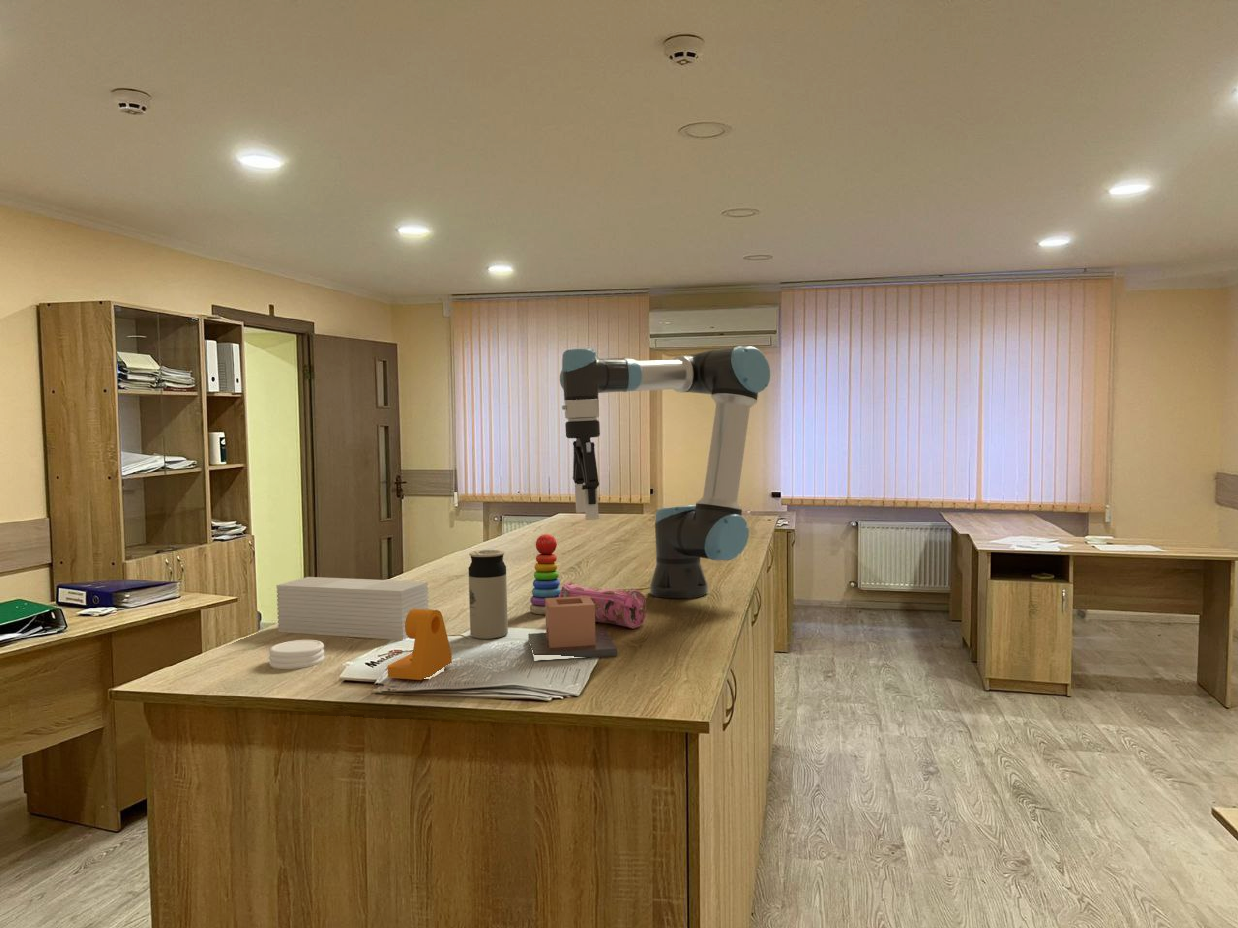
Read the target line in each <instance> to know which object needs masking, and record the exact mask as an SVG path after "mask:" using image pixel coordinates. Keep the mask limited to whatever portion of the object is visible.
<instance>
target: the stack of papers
mask: <svg viewBox="0 0 1238 928" xmlns="http://www.w3.org/2000/svg"><path fill="white" fill-rule="evenodd" d="M428 585H429V582H428V581H418V580H417V581H414V580H395V579H394V580H392V579H368V578H367V579H366V578H342V577H320V576H316V577H315V576H306V577H302V578H298V579H295V580H291V581H288V582H283V583H280V584H277V585H276V598H277V599H276V606H277V609H276V611H277V628H278V629H277V632H279V633H289V634H304V635H306V634H307V635H308V634H309V635H320V636H336V637H352V638H365V639H378V640H380V639H382V640H398V641H402V640H401V639H404V640H407V639H410V638H409V637H408V636H407V634H406V631H405V621H406V617H407V615H408V613H409V611H410V610H412V609H429V607H430V606H429V587H428ZM406 638H407V639H406Z"/></svg>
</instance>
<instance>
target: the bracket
mask: <svg viewBox="0 0 1238 928" xmlns="http://www.w3.org/2000/svg"><path fill="white" fill-rule="evenodd" d="M405 631H406V634H407V636H408V637H409V638H408V639H412V640H414V641H413V642H414V643H413V648H412V649H413V650H412V653H410V654H409V655H406V656H404V657H403V658H400V659H397V660H396V661H394V662H392V663H390V664H388V665H387V677H388V678H392V679H402V680H416V681H417V680H418V681H423V680H422V679H424V678H426V677H430V676H432V675H433V674H435V673H436V672H437V671H439V670H441V669H442V668H443V667H445V666H446V665H448V664H449V665H451V664H452V662H453V661H452V659H453V658H452V650H451V646H450V643H449V639H448V638H449V637H448V634H447V629H446V625H445V622H444V618H443V614H442V612H441V611H440V610H439V609H412V610H410V611H409V613H408V615H407V617H406V621H405ZM450 663H451V664H450ZM449 665H448V666H449ZM446 667H447V666H446ZM446 667H445V668H446Z"/></svg>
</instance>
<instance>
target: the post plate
mask: <svg viewBox="0 0 1238 928" xmlns="http://www.w3.org/2000/svg"><path fill="white" fill-rule="evenodd" d="M595 639H596V645H588V646H573V647H557V648H550V647H549V642H548V640H547V638H546V632H537V633H528V643H529V642H530V644H531V648H532V650H533V654H534V655H561V656H574V657H597V658H607V657H618V649H617V647H616V645H615V643H614V642H613V641H612V639H611V637H610V636H609V634H608V633H607V631H606V630H605V629H604V628H602V629H595ZM530 644H529V645H530ZM531 648H530V649H531Z"/></svg>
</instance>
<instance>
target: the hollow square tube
mask: <svg viewBox="0 0 1238 928" xmlns="http://www.w3.org/2000/svg"><path fill="white" fill-rule="evenodd" d="M544 616H545V633H546V638H547V640H548V642H549V647H550V648H557V647H573V646H588V645H596V639H595V630H596V622H595V604H594V603H593V601H592V600H591V598H590V597H589V596H575V597H557V598H545V614H544Z"/></svg>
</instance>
